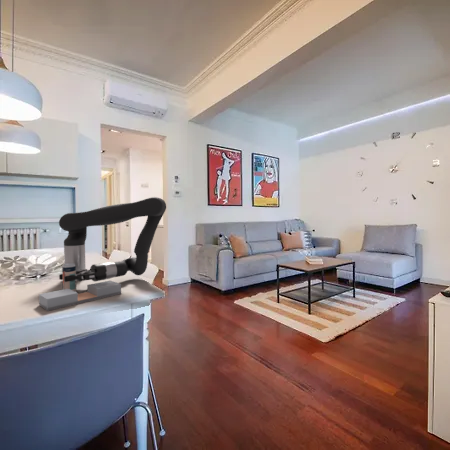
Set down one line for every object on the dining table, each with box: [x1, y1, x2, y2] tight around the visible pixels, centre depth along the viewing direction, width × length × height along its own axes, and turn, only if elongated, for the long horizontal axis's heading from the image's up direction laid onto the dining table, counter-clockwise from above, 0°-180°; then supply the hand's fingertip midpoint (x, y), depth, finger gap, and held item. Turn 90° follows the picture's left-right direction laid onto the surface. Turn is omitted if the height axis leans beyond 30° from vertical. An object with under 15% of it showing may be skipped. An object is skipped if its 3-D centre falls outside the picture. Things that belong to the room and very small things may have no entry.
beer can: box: [61, 263, 77, 292], centre depth 111 cm, size 5×5×12 cm
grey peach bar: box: [38, 280, 122, 312], centre depth 102 cm, size 9×26×4 cm, turn 139°
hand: (62, 278), depth 109 cm, fingers closed on beer can, 4 cm apart
